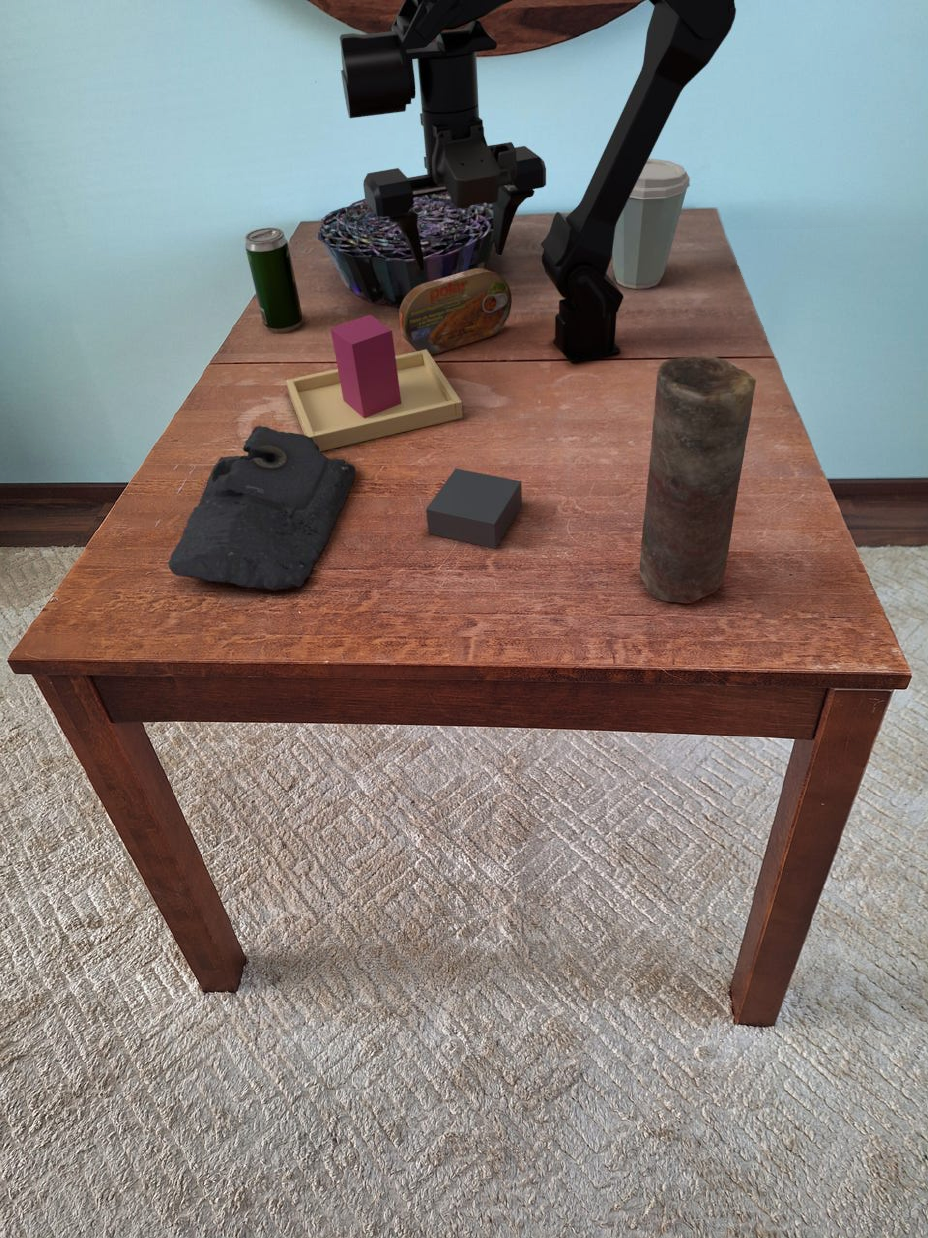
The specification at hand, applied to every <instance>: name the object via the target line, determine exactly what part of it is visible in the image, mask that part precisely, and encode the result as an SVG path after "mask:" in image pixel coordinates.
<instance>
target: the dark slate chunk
mask: <svg viewBox="0 0 928 1238" xmlns="http://www.w3.org/2000/svg"><path fill="white" fill-rule="evenodd" d="M242 450H243V452H244V453H247V455H233V456H232V455H229V456H221V457H220V458H219V459H218V461H217V463H215V464H214V466H213V467H212V469H211V473H210V475H209V477H208V478H207V481H206V484H205V487H204V490H203V492H202V495H201V498H200V502H199V503H198V505H197V506H194V508H193V509H192V512H191V514H190V515H189V517H188V519H187V521H186V526H185V527H184V529H183V531H182V535H181V537H180V538H179V539H180V540H179V542H178V543H177V544H176V546H175V548H174V550H173V551H172V553H171V556H170V558H169V560H168V567H169V570H170V572H171V573H173V575H175V576H180V577H187V578H193V579H198V580H203V581H209V582H217V583H225V584H227V583H229V584H234V585H236V586H238V587H242V588H248V589H262V590H269V591H277V590H288V589H291V588H301V587H302V586H303V584H304V583H305V580H306V579H307V578H308V577H309V576H310V574H311V571H312V570H314V565H315V564H316V563H318V561H319V556H320V555H321V554H322V551H323V550H324V547H326V546H327V543H328V541H329V538H330V537H331V534H332V532H333V531H334V530H335V525H336V522H337V520H338V518H339V516H340V514H341V513H342V512H341V511H342V508H343V507H344V505H345V501H347V496H348V495H349V494H350V492H351V487H352V486H353V481H354V479H355V476H356V473H357V472H356V467H355V466H354V465H353V464H351V463H349V462H346V460H345V459H339V458H333V459H331V458H329V457H327V456H326V455H325V454H324V453H323V452H322V451H321V452H320V451H319V447H318V445H316V444H315V443H314V441H313V439H311V438H310V437H308V436H305V435H304V434H301V433H295V432H286V431H277V430H276V429H272V428H270V427H267V426H261V425H257V426H255V427H254V428H253V429H252V430H251V433H250V435H249V436H248V438H247V439H246V440H245V441H244V445H243V446H242Z"/></svg>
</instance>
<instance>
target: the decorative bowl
mask: <svg viewBox="0 0 928 1238" xmlns="http://www.w3.org/2000/svg"><path fill="white" fill-rule="evenodd" d="M412 208H413V210H414V211H415V212H416V213H417V214H418V222H417V226H418V232H419V237H420V242H421V248H422V253H423V258H424V271H420V270H419V268H418V266H417V264H416V262H415V259H414V257H413V255H412V253H411V251H410V248H409V246H408V244H407V242H406V240H405V237H404V235H403V233H402V231H401V229H400V227H399V226H398V224H397V222H390V221H389V220H388V219H387V218H386V217H380V216H377V215H376V214H375V213H374V211H373V210H372V209H371V207H370V206H369V205H368V203H367V202H366V201H365V198H363V199H360V200H357V201H355V202H352V203H351V204H350V205H348V206H344V207H341V208H337V209H335V210H332V211H330V212H328V214H326V215H324V217H322V218H321V219H320V225H321V226H320V228H318V229H319V230H318V231H317V239H318V241H320V242H321V243H322V245H323V246H324V248H325V250H326V252H327V254H328V256H329V258H330V259H331V261H332V263H333V265H334V267H335V269H336V271H337V273H338V274H339V277H340V278H341V280H342V282H343V284H344V285H345V286H346V287H347V289H348V290H349V291H350V292H353V293H354V294H355V296H358V297H360V298H364V299H366V301H367V302H369V303H372V304H377V305H385V304H388V305H389V306H392V307H398V308H400V306H401V304H402V302H403V300H404V298H405V297H406V295H407V294H408V293H409V292H410V291H411V290H412V289H413V288H415V287H416V286H418V285H421V284H423V283H427V282H430V281H434V280H437V279H441V278H444V277H447V276H451V275H454V274H457V273H461V272H464V271H467V270H471V269H475V268H482V269H486V270H487V268H488V265H489V260H490V258H491V254H492V251H493V249H494V237H493V204H492V203H491V204H487V203H481V204H476V205H471V206H470V207H469V208H463V209H462V208H457V207H455V206H454V205H453V203H452V201H451V197H450V195H449V193H448V191H447V192H441V193H436V194H430V195H425V196H419V197H414V204H413V206H412Z"/></svg>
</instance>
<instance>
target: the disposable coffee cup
mask: <svg viewBox="0 0 928 1238" xmlns="http://www.w3.org/2000/svg"><path fill="white" fill-rule="evenodd" d="M690 179H691V177H690V176H689V174H688V172H687V171H686V169H685V168H684V166H683V165H680V164H678V163H676V162H673V161H671V160H665V159H664V160H663V159H658V158H657V159H656V158H648V160H647V162H646V164H645V166H644V169H643V171H642V173H641V175H640V177H639V179H638V181H637V183H636V185H635V187H634V189H633V191H632V193H631V195H630V197H629V199H628V201H627V203H626V205H625V207H624V209H623V211H622V213H621V215H620V217H619V220H618V222H617V224H616V228H615V235H614V243H613V251H612V263H613V265H612V266H613V274H614V277H615V280H616V283H617V284H618V285H621V286H622V287H623V288H629V289H634V290H641V289H643V290H644V289H650V288H653V287H655V286H657V285H658V284H659V283H660V282H661V281H662V278H663V277H664V274H665V271H666V268H667V264H668V260H669V256H670V254H671V253H670V252H671V249H672V245H673V242H674V238H675V235H676V231H677V228H678V227H677V226H678V223H679V219H680V215H681V212H682V208H683V204H684V201H685V197H686V194H687V190H688V189H689V187H691V184H690V181H691V180H690Z"/></svg>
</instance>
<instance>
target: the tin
mask: <svg viewBox="0 0 928 1238" xmlns="http://www.w3.org/2000/svg"><path fill="white" fill-rule="evenodd" d="M512 305H513V298H512V291H511V288H510V285H509V283H508V282H507V280H506V279H505V278H504V277H503V276H502V275H501V274H499V273H496V272H494V271H491V270H489V269H487V268H486V269H482V268H475V269H471V270H467V271H464V272H461V273H457V274H454V275H451V276H447V277H444V278H441V279H437V280H434V281H430V282H427V283H423V284H421V285H418V286H416V287H415V288H413V289H412V290H411V291H410V292H409V293H408V294H407V295H406V297H405V298H404V300H403V302H402V304H401V306H399V310H398V326H399V327H398V328H399V330H400V333H401V335H402V337H403V338H404V339H405V341H406V342H407V343H408V344H409V345H410V346H411V347H412V348H413V349H414V350H415V351H421V350H426V349H427V351H428V352H429V354H430V355H431V356H432V355H438V354H441V353H444V352H447V351H451V350H453V349H456V348H460V347H462V346H466V345H468V344H472V343H475V342H478V341H482V340H485V339H487V338H491V337H493V336H494V335H495V334H496V333H497V332H499V331H500V330H501V329H502V328H503V326H505V324H506V322H507V321H508V318H509V316H510V313H511V309H512Z"/></svg>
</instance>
